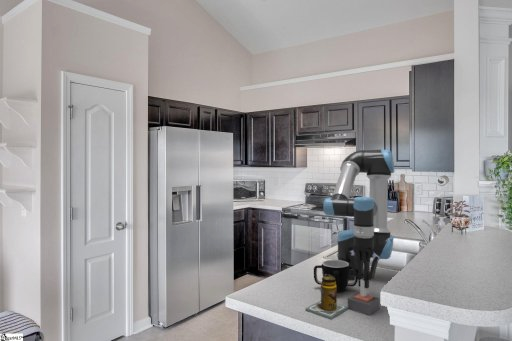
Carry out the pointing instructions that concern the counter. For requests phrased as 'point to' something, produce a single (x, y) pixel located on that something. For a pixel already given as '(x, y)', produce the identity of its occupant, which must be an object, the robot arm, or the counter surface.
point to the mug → (336, 273)
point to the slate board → (324, 313)
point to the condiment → (328, 295)
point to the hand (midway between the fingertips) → (363, 295)
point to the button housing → (364, 305)
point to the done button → (364, 298)
